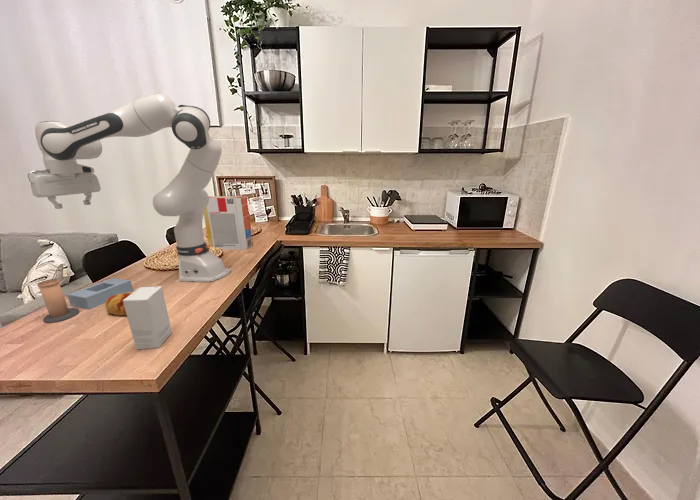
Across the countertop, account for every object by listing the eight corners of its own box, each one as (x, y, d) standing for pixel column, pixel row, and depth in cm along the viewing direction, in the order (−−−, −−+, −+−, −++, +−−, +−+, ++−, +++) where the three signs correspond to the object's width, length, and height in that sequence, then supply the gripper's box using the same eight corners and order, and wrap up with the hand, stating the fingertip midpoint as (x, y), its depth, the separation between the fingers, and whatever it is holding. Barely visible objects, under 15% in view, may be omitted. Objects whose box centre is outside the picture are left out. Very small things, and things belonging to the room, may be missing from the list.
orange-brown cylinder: (73, 311, 103) (62, 279, 99) (55, 319, 98) (43, 286, 94) (63, 309, 104) (52, 278, 100) (45, 316, 100) (33, 284, 96)
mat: (85, 311, 104) (85, 309, 104) (54, 324, 96) (54, 323, 95) (68, 308, 107) (68, 306, 106) (37, 320, 98) (36, 319, 98)
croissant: (104, 315, 108) (86, 302, 103) (127, 294, 114) (111, 280, 109) (138, 327, 99) (120, 314, 93) (161, 303, 105) (145, 289, 100)
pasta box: (252, 245, 179) (246, 195, 170) (247, 249, 171) (240, 197, 162) (216, 245, 181) (208, 196, 172) (209, 249, 173) (200, 198, 164)
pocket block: (133, 290, 120) (130, 280, 118) (89, 309, 105) (85, 297, 104) (115, 287, 123) (112, 277, 121) (70, 305, 108) (66, 294, 107)
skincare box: (151, 333, 90) (139, 286, 85) (174, 332, 90) (163, 285, 85) (134, 350, 82) (120, 299, 77) (159, 349, 82) (147, 298, 77)
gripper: (31, 170, 98) (45, 211, 103) (98, 168, 117) (107, 203, 121) (20, 170, 100) (34, 210, 104) (87, 168, 119) (96, 202, 123)
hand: (73, 206), depth 113 cm, fingers open, 8 cm apart
